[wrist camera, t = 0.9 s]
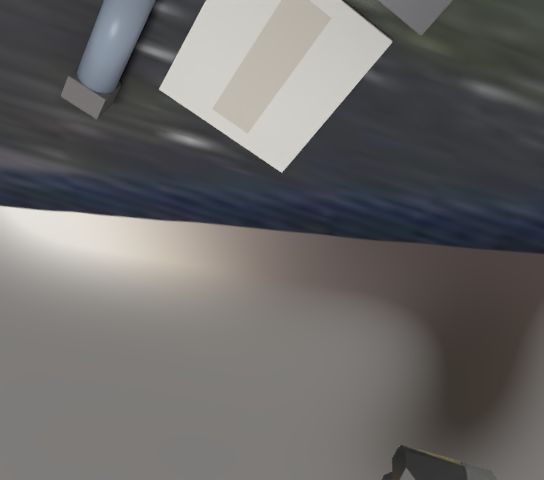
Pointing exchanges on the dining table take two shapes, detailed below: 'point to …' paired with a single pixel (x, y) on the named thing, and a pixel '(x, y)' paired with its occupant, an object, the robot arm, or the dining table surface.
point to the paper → (272, 69)
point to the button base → (417, 11)
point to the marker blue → (106, 55)
